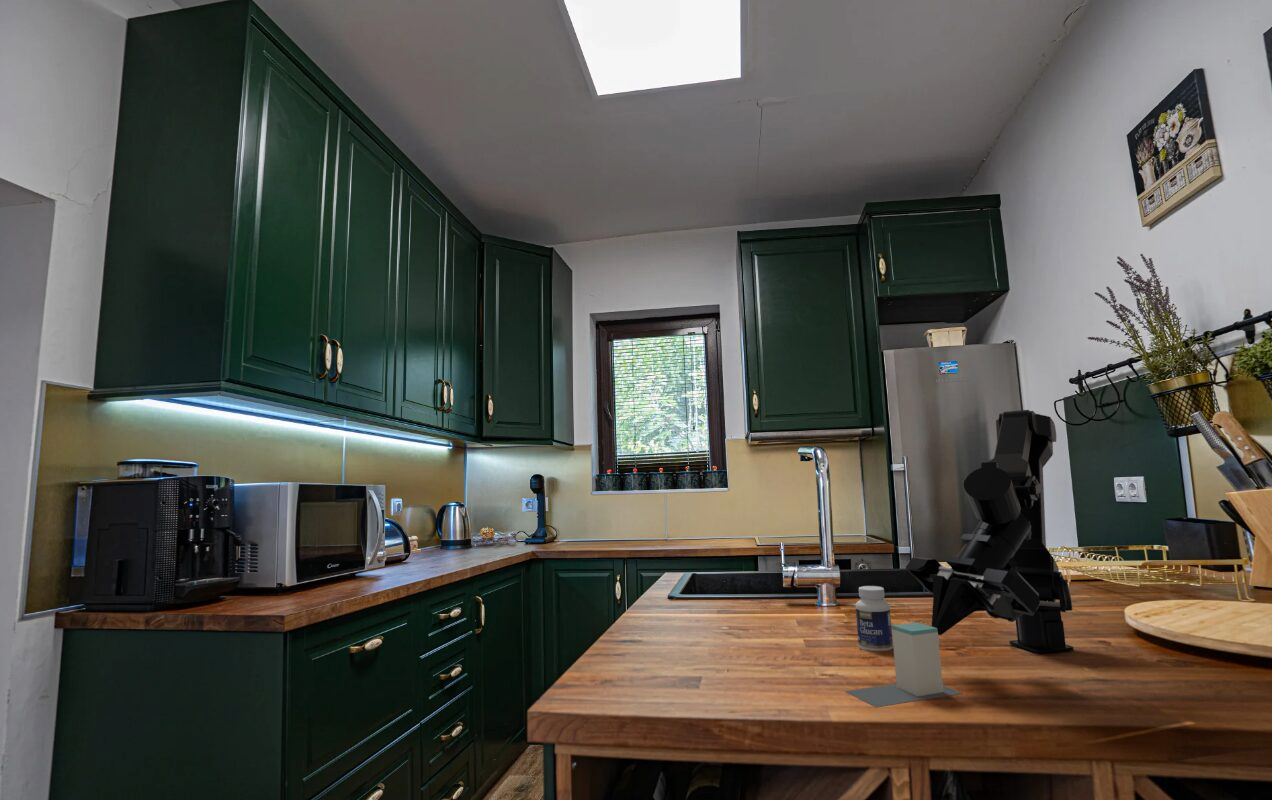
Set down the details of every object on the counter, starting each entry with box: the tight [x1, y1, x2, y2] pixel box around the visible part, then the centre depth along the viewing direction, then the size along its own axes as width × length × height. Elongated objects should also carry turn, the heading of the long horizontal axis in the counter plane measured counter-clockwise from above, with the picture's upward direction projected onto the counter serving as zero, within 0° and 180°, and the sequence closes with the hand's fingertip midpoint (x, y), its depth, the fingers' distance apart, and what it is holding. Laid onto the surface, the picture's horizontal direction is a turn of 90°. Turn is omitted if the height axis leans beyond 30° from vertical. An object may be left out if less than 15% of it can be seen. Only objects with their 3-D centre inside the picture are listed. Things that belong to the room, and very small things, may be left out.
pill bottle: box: [855, 585, 894, 652], centre depth 110 cm, size 5×5×10 cm
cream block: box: [891, 622, 944, 696], centre depth 87 cm, size 4×4×8 cm
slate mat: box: [844, 683, 964, 708], centre depth 86 cm, size 13×7×1 cm, turn 106°
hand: (935, 632), depth 88 cm, fingers closed
